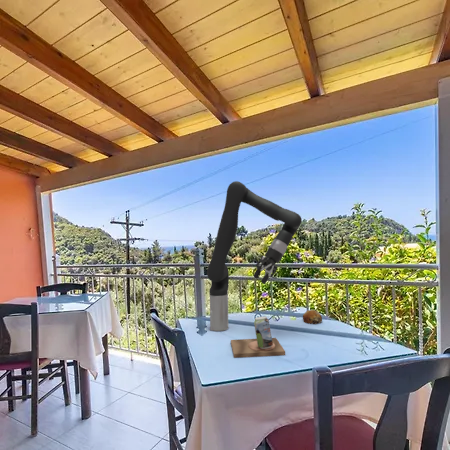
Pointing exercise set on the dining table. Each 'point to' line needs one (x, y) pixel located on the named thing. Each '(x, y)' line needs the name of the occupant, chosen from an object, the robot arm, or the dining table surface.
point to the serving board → (255, 348)
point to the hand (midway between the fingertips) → (259, 280)
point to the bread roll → (312, 317)
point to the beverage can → (263, 332)
